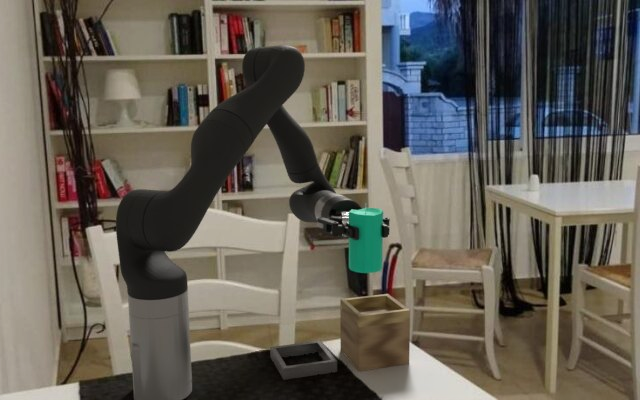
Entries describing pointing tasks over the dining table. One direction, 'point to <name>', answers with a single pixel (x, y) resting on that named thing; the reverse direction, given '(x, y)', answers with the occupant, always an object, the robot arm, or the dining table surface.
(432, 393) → the dining table surface
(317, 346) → the grey square tray
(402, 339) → the wooden storage box
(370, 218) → the candle
